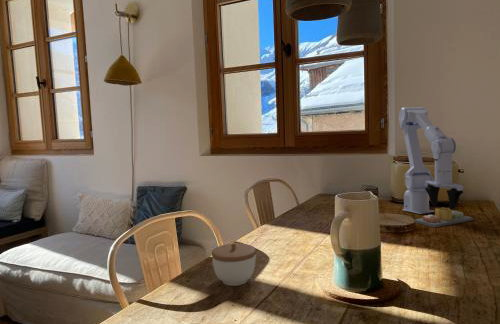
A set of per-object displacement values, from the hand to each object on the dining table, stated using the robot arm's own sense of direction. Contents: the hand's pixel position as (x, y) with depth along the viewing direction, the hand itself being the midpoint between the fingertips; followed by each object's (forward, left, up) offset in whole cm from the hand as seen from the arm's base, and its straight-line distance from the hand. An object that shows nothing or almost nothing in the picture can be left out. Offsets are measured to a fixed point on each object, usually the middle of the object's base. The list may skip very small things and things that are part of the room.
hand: (443, 207), depth 138 cm
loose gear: (0, 0, -4) cm, 4 cm away
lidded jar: (+14, -89, -6) cm, 90 cm away
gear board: (0, 0, -5) cm, 5 cm away
